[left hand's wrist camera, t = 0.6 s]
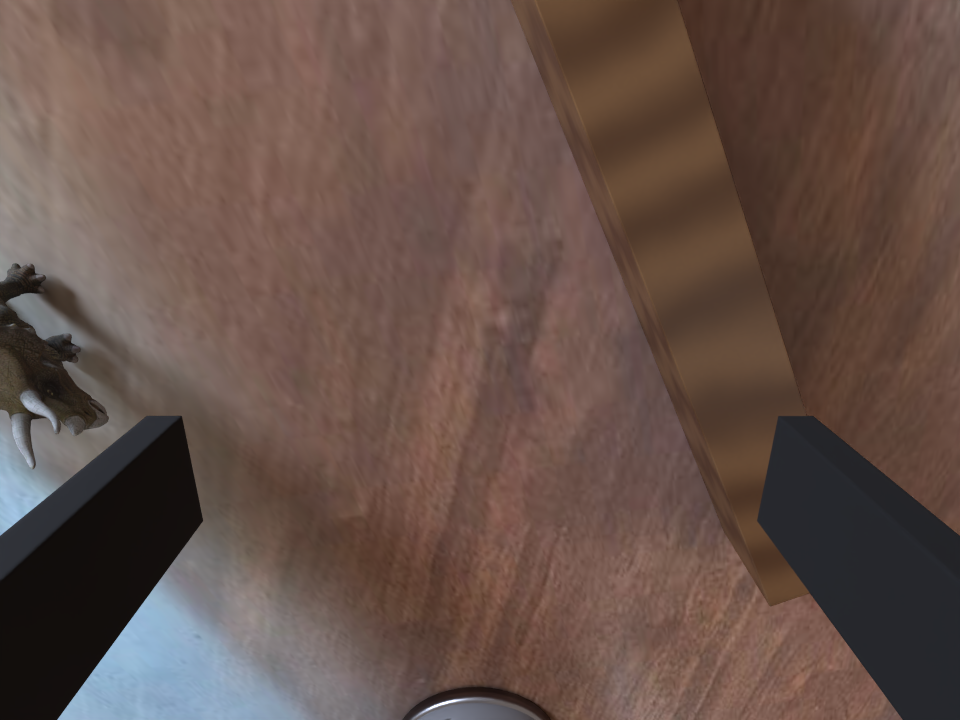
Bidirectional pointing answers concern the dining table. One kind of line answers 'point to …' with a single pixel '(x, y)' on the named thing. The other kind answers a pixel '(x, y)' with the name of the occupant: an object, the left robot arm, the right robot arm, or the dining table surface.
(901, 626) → the left robot arm
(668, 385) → the bar
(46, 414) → the toy dinosaur
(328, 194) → the dining table surface
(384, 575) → the dining table surface
